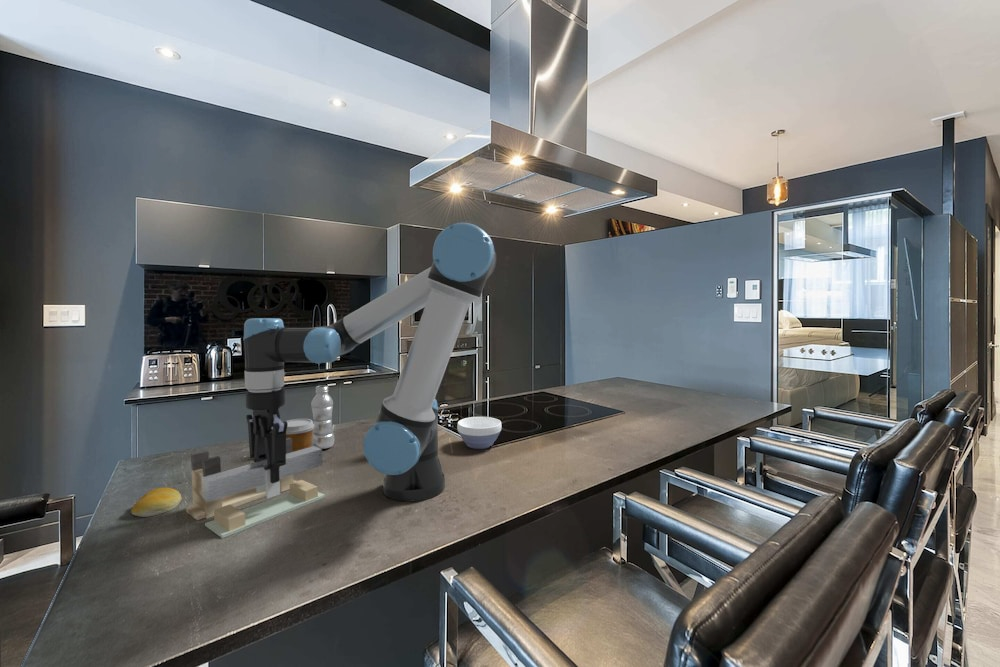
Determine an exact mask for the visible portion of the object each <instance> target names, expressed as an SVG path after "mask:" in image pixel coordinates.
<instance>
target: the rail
mask: <svg viewBox="0 0 1000 667" xmlns="http://www.w3.org/2000/svg"><path fill="white" fill-rule="evenodd" d="M320 466H323V449H321V448H318V447H315V446H313V445H311V447H309V448H305V449H302V450H298V451H294V452H291V453H287V454H286V464H285V465H283V466H280V479H281V478H284V477H287V476H290V475H293V476H294V475H296V474H299V473H302V472H305V471H308V470H311V469H315V468H318V467H320ZM264 467H267V459H266V460H262V461H259V462H252V463H248V464H245V465H241V466H238V467H235V468H231V469H227V470H225V471H224V470H223V471H221V472H220V473H216V474H213V475H209V476H206V477H202V478H201V480H202V497H203V498H204V499H206V500H207V501H209V502H211V501H214V500H217V499H220V498H223V497H226V496H229V495H232V494H235V493H238V492H241V491H244V490H247V489H251V488H254V487H257V486H260V485H263V484H266V479H265V469H264Z"/></svg>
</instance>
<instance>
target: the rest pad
mask: <svg viewBox="0 0 1000 667" xmlns="http://www.w3.org/2000/svg"><path fill="white" fill-rule="evenodd" d="M289 485H290V489H289V492H288V493H285V494H282V495H278V496H275V497H274V498H270V499H269V500H265V501H263V502H260V503H257V504H254V505H252V506H249V507H246V508H243V509H241V510H240V509H238V508H237V507H233V506H232V505H230V504H229V505H226V506H224V507H221V508H218V509H215V510H214V516H213V518H214V519H213V520H211V521H207V522H205V527H206V528H207V529H209V530H210V531H212V532H213V533H215V534H216V535H218V536H219V537H220V538H221V539H224V538H227V537H229V536H232V535H234V534H237V533H239V532H242V531H244V530H246V529H249V528H252V527H254V526H257V525H259V524H262V523H264V522H267V521H269V520H272V519H274V518H276V517H279V516H282V515H285V514H287V513H289V512H292V511H294V510H295V511H296V510H297V509H299V508H302V507H304V506H306V505H309V504H311V503H314V502H317V501H319V500H322V499H325V498H326V494H325V493H322V492H319V491H318V490H319V487H318V485H315V484H313V483H311V482H308V481H306V480H303V479H299V480H296V482H293V483H290V484H289Z"/></svg>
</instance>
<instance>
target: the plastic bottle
mask: <svg viewBox="0 0 1000 667" xmlns="http://www.w3.org/2000/svg"><path fill="white" fill-rule="evenodd" d="M314 392H315V393H316V394H315V396H314V397H313V399H312V400H311V403H310V406H311V412H312V417H313V418H312V419H313V420H312V421H313V424H314V428H313V432H312V441H311V444H312V446H315V447H318V448H321V449H322V450H324V449H325V450H326V449H330V448H331V447H333V446H334V444H335V435H334V430H333V420H332V419H333V408H334V400H333V398H332V397H331V395H329V385H326V384H323V385H317V386H315V391H314Z"/></svg>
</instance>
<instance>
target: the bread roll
mask: <svg viewBox="0 0 1000 667" xmlns="http://www.w3.org/2000/svg"><path fill="white" fill-rule="evenodd" d="M182 499H183V498H182V494H181V493H180V492H179V490H177V489H174V488H171V487H159V488H155V489H152V490H150V491H148V492H146V493H145V494H143V495H142V496H141V497H140V498H139V500H138V501H137V502H135V503H134V505H133V506H132V508H131V514H132V515H134V516H136V517H142V518H143V517H144V518H147V517H148V518H149V517H154V516H157V515H162V514H165V513H167V512H171V511H173V510H174V509H176V508H177V507H178V506H179V504H181V502H182Z"/></svg>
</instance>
